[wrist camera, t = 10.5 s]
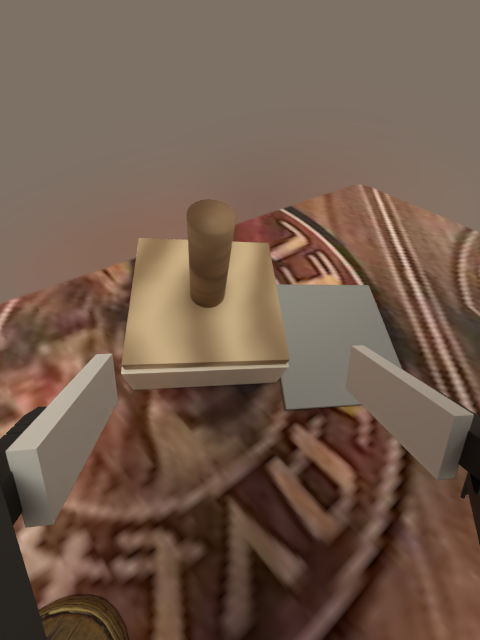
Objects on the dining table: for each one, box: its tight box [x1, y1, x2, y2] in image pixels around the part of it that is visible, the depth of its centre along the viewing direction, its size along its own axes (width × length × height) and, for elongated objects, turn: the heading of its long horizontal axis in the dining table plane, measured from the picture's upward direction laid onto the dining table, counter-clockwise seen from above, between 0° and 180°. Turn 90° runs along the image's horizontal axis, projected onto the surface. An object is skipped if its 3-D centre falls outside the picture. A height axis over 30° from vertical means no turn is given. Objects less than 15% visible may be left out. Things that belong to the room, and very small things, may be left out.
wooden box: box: [121, 363, 289, 390], centre depth 30 cm, size 15×15×5 cm
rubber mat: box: [276, 285, 402, 410], centre depth 33 cm, size 15×16×1 cm
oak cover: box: [122, 200, 290, 370], centre depth 23 cm, size 14×14×11 cm
